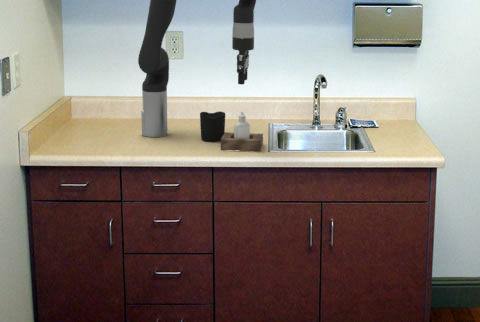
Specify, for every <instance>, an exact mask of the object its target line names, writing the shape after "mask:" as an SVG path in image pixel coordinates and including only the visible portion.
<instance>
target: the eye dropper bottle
mask: <svg viewBox="0 0 480 322" xmlns="http://www.w3.org/2000/svg"><path fill="white" fill-rule="evenodd" d="M250 128H251V125H250V123H249V122H247V121H246V115H245V114H244V111H240V115H238V121H237V122H236V123H234V127H233V130H234V131H233V133H234V138H239V139H250V133H251V132H250V130H251V129H250Z"/></svg>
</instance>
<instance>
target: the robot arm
mask: <svg viewBox="0 0 480 322" xmlns="http://www.w3.org/2000/svg"><path fill="white" fill-rule="evenodd" d="M176 4H177V0H150V2H149V7H148V13H147V14H148V15H147V20H146V26H145V32H144V36H143V40H142V44H141V47H140V51H139V53H138V58H137V61H138V62H137V63H138V67H139V69H140V70H141V71H142V72H143V73H144V74H146V76H145V78H144V80H143V82H142V84H141V89H142V110H140V111H141V113H140V114H141V117H140V119H141V136H144V137H149V138H160V137H162V138H163V137H165V136H168V134H169V133H168V129H169V128H168V92H167V88H168V84H169V80H170V79H169V78H170V77H169V76H170V72H169V71H170V59H169V55H168V52H167V51H166V49H164V48H163V47H162V45H163V41H164V37H165V34H166V33H167V31H168V28H169V26H170V25H171V23H172V20H173V18H174V15H175V11H176V10H175V9H176V7H177V5H176ZM256 4H257V0H238V4H237V5H235V6H234V8H233V11H232V13H233V19H232V20H233V21H232V22H233V23H232V33H231V34H232V37H231V38H232V42H231V43H232V44H231V45H232V50H234V51H238V54H237V55H236V73H237V84H238V85H244V84H245V81H247V80H248V69H249V65H250V54H249V53H250V51H252V50H254V49H255V26H254V24H255V23H254V21H255V19H254V17H255V16H254V14H255V13H254V12H255V7H256Z"/></svg>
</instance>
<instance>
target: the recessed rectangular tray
mask: <svg viewBox="0 0 480 322" xmlns="http://www.w3.org/2000/svg"><path fill="white" fill-rule="evenodd" d="M263 142H264V133H255V132H254V133H251V132H250V139H239V138H234V132H229V131H228V132H225V133H224V135H223V136H222V138H221V141H220V151H221V150H240V151H239V152H246V151H260V152H261V150H262V148H263V145H264V143H263Z"/></svg>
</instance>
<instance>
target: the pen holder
mask: <svg viewBox="0 0 480 322" xmlns="http://www.w3.org/2000/svg"><path fill="white" fill-rule="evenodd" d="M199 121H200V122H199V124H200V126H199V127H200V139H201V140H202V141H203V142H206V143H207V142H208V143H218V142H221V138H222V136H223V135H224V133H225V129H226V128H225V127H226V112H224V111H221V110H220V111H216V112H208V111H201V112H199Z"/></svg>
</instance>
